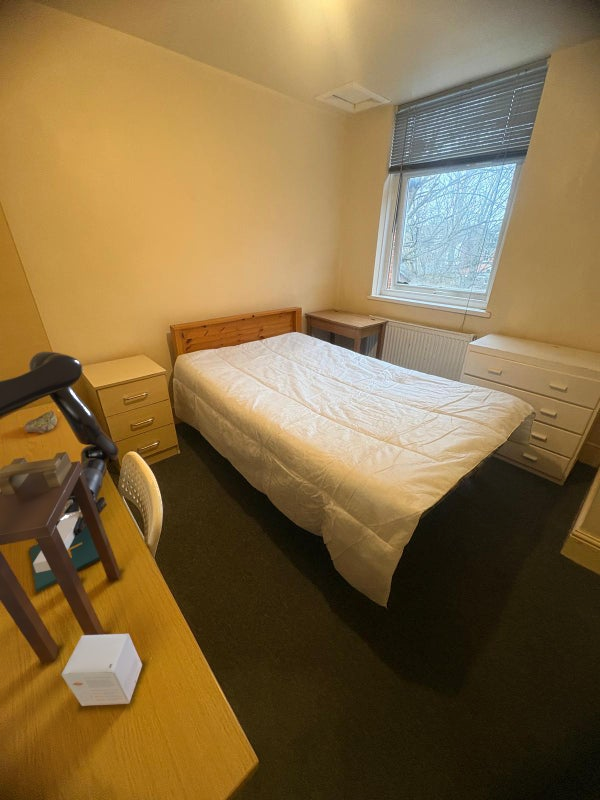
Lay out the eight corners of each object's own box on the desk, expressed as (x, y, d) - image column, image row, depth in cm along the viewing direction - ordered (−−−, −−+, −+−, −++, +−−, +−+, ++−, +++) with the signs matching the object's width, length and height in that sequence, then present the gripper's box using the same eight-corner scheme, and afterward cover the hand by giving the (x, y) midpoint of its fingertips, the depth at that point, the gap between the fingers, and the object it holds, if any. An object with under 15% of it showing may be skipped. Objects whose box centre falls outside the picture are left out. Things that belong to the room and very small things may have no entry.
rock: (36, 420, 135) (31, 413, 133) (62, 414, 138) (57, 408, 136) (24, 439, 125) (18, 432, 123) (52, 433, 127) (47, 426, 125)
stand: (42, 664, 58) (-52, 522, 42) (71, 583, 72) (8, 452, 56) (103, 646, 61) (36, 506, 45) (120, 571, 74) (73, 444, 58)
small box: (143, 665, 58) (130, 632, 53) (129, 705, 53) (113, 672, 48) (98, 666, 58) (81, 633, 53) (80, 707, 53) (59, 674, 48)
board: (37, 592, 70) (35, 589, 69) (31, 550, 79) (29, 547, 79) (108, 555, 78) (107, 552, 78) (94, 521, 88) (93, 518, 87)
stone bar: (36, 573, 67) (32, 563, 66) (67, 521, 82) (64, 513, 82) (58, 568, 68) (54, 558, 67) (84, 518, 84) (82, 510, 83)
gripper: (52, 481, 88) (23, 531, 73) (109, 472, 91) (94, 517, 77) (61, 502, 91) (35, 553, 76) (116, 492, 95) (102, 539, 80)
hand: (65, 534), depth 77 cm, fingers closed on stone bar, 4 cm apart
